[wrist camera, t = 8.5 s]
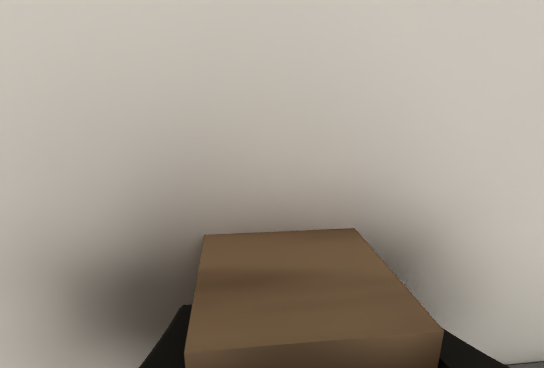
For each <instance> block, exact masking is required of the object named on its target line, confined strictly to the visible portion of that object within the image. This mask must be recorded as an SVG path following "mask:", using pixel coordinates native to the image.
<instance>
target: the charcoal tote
mask: <svg viewBox="0 0 544 368" xmlns="http://www.w3.org/2000/svg"><path fill="white" fill-rule="evenodd" d="M508 367H510V368H544V362H538V363H528V364H518V365H508Z"/></svg>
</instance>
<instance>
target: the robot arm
mask: <svg viewBox="0 0 544 368" xmlns="http://www.w3.org/2000/svg"><path fill="white" fill-rule="evenodd" d="M191 310H192V305H183V306H182V307H181V308H179V310H178V312H177V313H176V315H175V317H174V318H173V320H172V322H171V323H170V325H169V326H168V328H167V329H166V331H165V332H164V334H163V335H162V337H161V338H160V340H159V341H158V343H157V344H156V345H155V347H154V348H153V350H152V351H151V352H150V354H149V355H148V357H147V358H146V359H145V361H144V362H143V363H142V365H141V366H140V367H139V368H185V358H184V350H185V345H186V339H187V333H188V327H189V321H190V316H191ZM442 329H443V328H442ZM443 330H444V329H443ZM438 368H510V367H508V366H506V365H504V364H502V363H500V362H498V361H496V360H495V359H493V358H491V357H489V356H487V355H486V354H484V353H482V352H481V351H479V350H477V349H475V348H474V347H472V346H470V345H469V344H467V343H465V342H464V341H462V340H460V339H459V338H457V337H456V336H454V335H452V334H451V333H449V332H448V331H446V330H444V334H443V340H442V346H441V351H440V357H439V363H438Z"/></svg>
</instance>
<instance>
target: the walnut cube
mask: <svg viewBox="0 0 544 368" xmlns="http://www.w3.org/2000/svg"><path fill="white" fill-rule="evenodd" d="M443 334H444V330H443V329H442V328H441V327H440V326H439V325H438V323H437V322H436V321H435V320H434V319H433V318H432V317H431V315H430V314H429V313H428V312H427V311H426V310H425V308H424V307H423V306H422V305H421V304H420V303H419V302H418V300H417V299H416V298H415V297H414V296H413V295H412V294H411V292H410V291H409V290H408V289H407V288H406V287H405V286H404V284H403V283H402V282H401V281H400V280H399V279H398V278H397V276H396V275H395V274H394V273H393V272H392V271H391V270H390V268H389V267H388V266H387V265H386V264H385V263H384V262H383V260H382V259H381V258H380V257H379V256H378V255H377V254H376V252H375V251H374V250H373V249H372V248H371V247H370V246H369V244H368V243H367V242H366V241H365V240H364V239H363V238H362V236H361V235H360V234H359V233H358V232H357V231H356V229H355V228H351V229H329V230H307V231H284V232H262V233H239V234H217V235H204V240H203V246H202V252H201V257H200V263H199V269H198V275H197V281H196V286H195V292H194V298H193V304H192V310H191V316H190V321H189V327H188V333H187V339H186V345H185V350H184V358H185V368H438V363H439V357H440V351H441V346H442V340H443Z"/></svg>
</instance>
